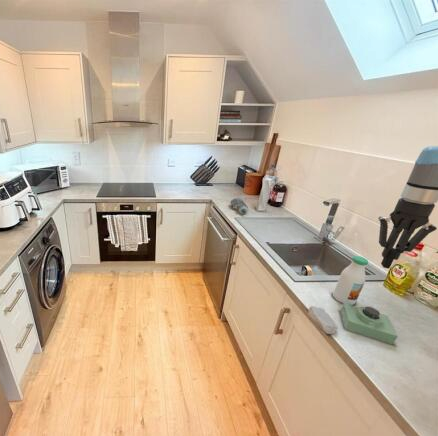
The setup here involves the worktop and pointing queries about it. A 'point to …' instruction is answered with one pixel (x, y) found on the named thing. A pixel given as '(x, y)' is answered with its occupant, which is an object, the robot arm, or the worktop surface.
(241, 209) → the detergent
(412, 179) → the robot arm
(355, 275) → the milk bottle
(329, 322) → the soap bar
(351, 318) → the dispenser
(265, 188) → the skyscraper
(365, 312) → the black disc
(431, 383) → the worktop surface
